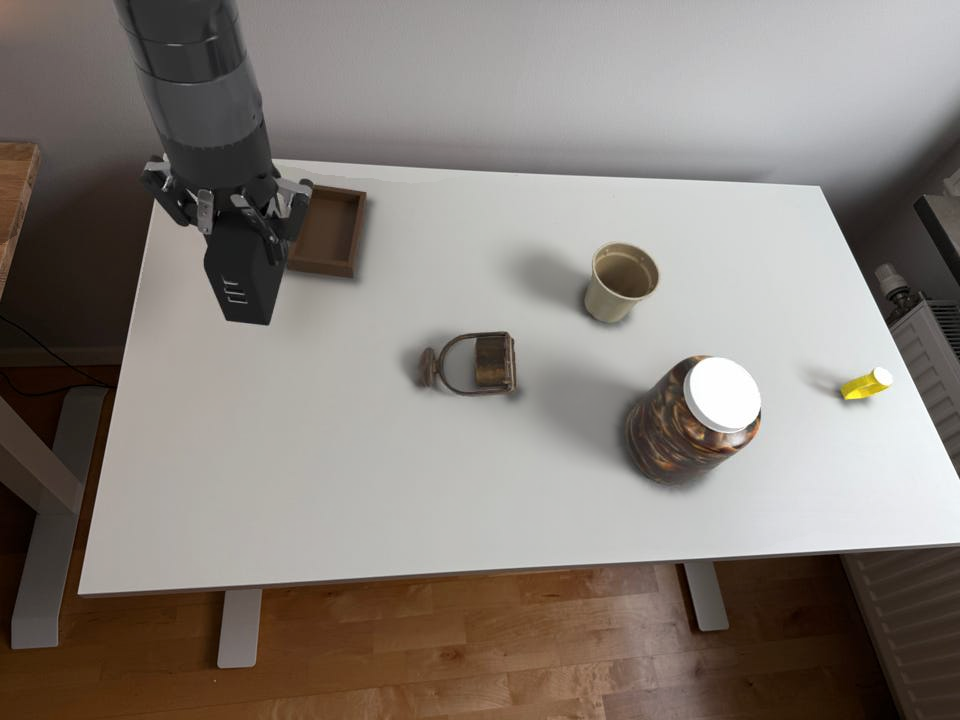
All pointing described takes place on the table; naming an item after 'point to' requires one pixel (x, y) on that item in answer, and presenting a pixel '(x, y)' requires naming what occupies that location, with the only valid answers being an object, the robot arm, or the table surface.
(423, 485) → the table surface
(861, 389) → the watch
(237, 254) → the electronic device
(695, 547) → the table surface
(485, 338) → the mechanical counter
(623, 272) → the flower pot
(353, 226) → the tray
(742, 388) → the jar
